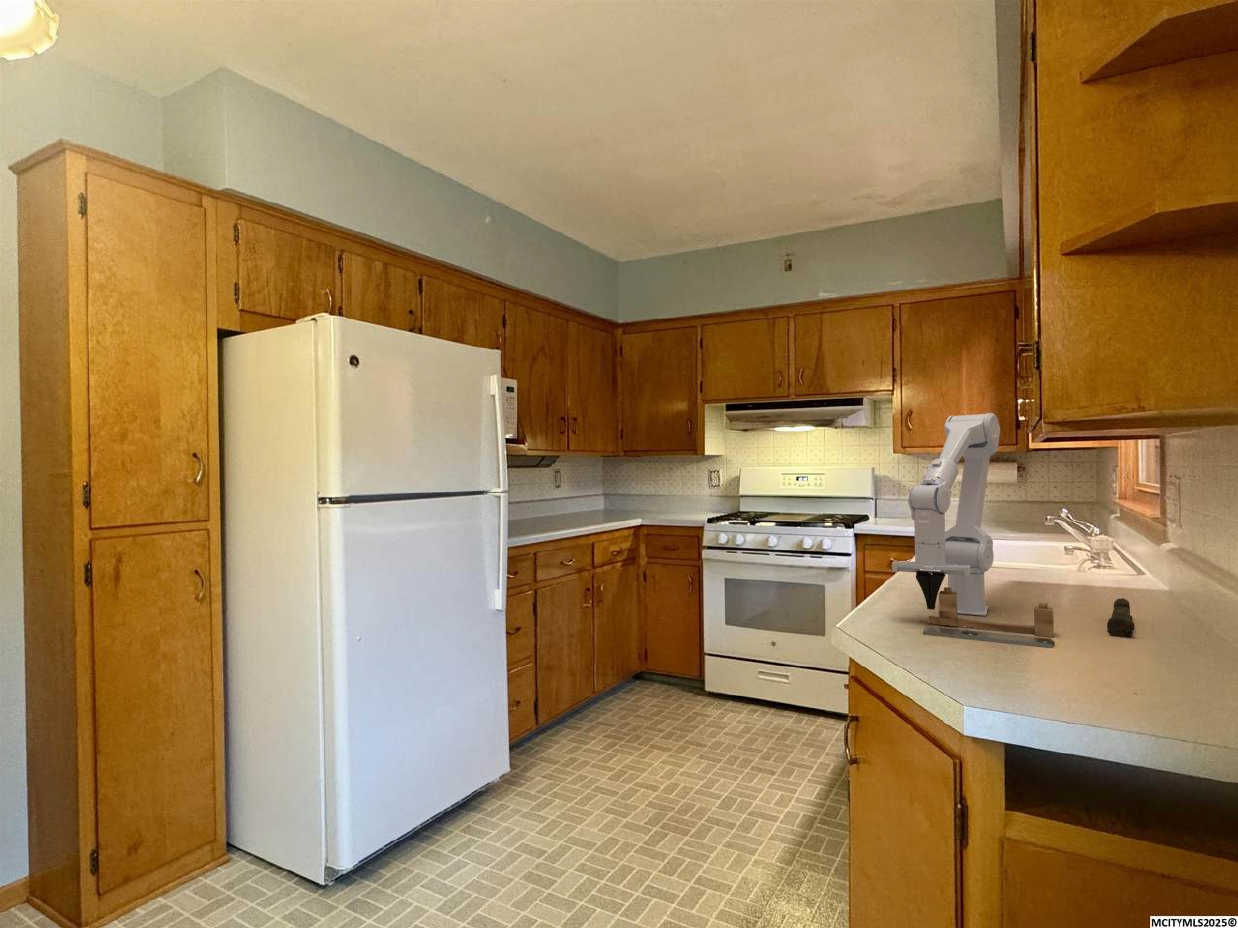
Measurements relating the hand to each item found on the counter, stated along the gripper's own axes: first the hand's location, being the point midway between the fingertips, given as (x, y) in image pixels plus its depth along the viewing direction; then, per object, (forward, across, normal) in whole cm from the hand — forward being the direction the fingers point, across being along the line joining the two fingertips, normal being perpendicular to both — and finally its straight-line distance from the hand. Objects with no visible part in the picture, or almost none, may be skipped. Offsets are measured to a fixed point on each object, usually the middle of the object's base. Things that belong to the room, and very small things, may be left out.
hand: (931, 608), depth 137 cm
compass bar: (+3, +10, 0) cm, 10 cm away
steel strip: (+3, +10, -8) cm, 13 cm away
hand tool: (+3, +32, +13) cm, 35 cm away
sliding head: (+3, +3, 0) cm, 4 cm away
